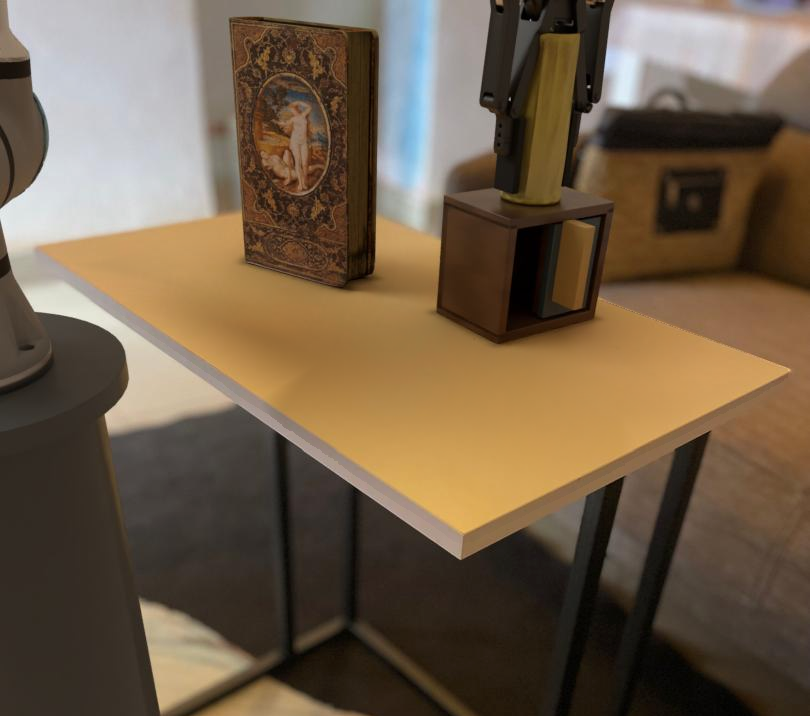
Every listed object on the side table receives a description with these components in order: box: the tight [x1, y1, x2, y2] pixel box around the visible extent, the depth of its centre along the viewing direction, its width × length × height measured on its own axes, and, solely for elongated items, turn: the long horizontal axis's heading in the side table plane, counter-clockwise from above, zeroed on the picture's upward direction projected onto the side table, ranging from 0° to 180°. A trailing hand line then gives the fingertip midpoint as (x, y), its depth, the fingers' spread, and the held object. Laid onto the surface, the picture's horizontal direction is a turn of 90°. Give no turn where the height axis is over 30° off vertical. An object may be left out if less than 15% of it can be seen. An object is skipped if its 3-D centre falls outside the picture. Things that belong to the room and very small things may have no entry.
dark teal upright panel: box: [537, 215, 601, 318], centre depth 84 cm, size 4×6×10 cm, turn 126°
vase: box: [500, 29, 580, 206], centre depth 79 cm, size 6×6×14 cm
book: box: [228, 16, 380, 288], centre depth 92 cm, size 16×6×25 cm, turn 57°
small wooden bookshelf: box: [435, 186, 616, 344], centre depth 87 cm, size 10×14×12 cm
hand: (531, 186), depth 83 cm, fingers open, 6 cm apart
